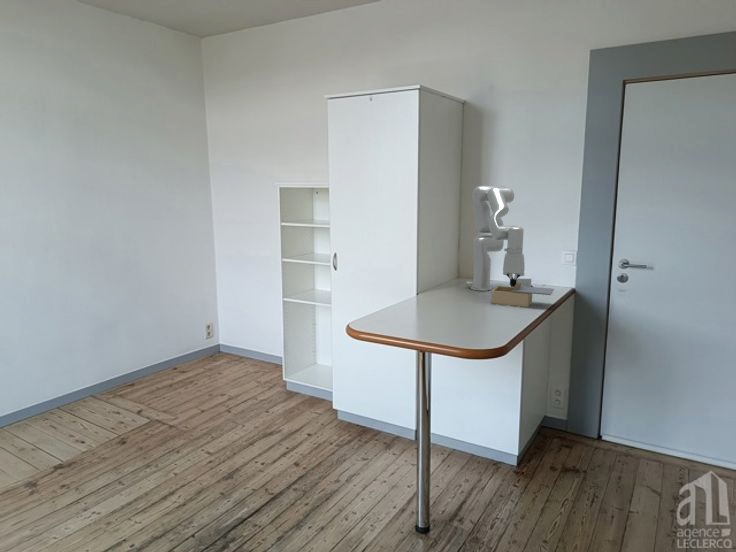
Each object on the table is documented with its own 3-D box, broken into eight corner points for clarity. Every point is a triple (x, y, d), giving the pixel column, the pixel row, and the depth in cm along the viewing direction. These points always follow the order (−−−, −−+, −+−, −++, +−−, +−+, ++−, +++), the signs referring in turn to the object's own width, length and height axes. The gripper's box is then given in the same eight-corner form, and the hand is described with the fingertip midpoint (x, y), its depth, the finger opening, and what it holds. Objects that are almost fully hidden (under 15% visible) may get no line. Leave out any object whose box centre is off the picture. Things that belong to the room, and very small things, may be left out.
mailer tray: (491, 304, 259) (491, 290, 258) (497, 298, 271) (497, 286, 270) (527, 307, 251) (528, 293, 250) (531, 302, 264) (532, 288, 262)
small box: (528, 295, 281) (529, 276, 279) (530, 297, 275) (531, 278, 273) (513, 295, 281) (514, 276, 280) (515, 297, 276) (516, 278, 274)
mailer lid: (511, 291, 253) (511, 286, 253) (516, 286, 266) (516, 281, 266) (550, 295, 245) (550, 289, 245) (553, 289, 258) (554, 284, 258)
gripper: (498, 251, 257) (496, 286, 260) (528, 252, 250) (526, 289, 253) (501, 249, 263) (499, 284, 266) (531, 251, 257) (529, 286, 260)
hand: (512, 286), depth 260 cm, fingers closed
